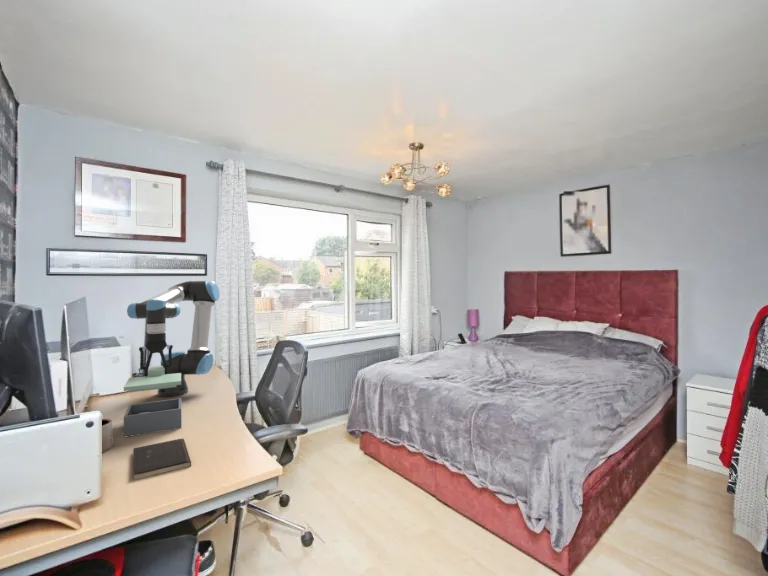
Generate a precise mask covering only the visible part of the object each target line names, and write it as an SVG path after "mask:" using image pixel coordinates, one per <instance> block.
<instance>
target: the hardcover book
mask: <svg viewBox="0 0 768 576" xmlns="http://www.w3.org/2000/svg"><path fill="white" fill-rule="evenodd" d="M132 450H133V451H132V476H133V479H134V480H138V479H142V478H147V477H149V476H154V475H159V474H163V473H167V472H171V471H175V470H176V471H177V470H179V469H184V468H188V467H192V461H191V458H190V454H189V451H188V448H187V445H186V441H185V439H184V438H177V439H173V440H166V441H164V442H163V441H162V442H157V443H153V444H148V445H143V446H138V447H134V448H133V449H132Z"/></svg>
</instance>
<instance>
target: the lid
mask: <svg viewBox="0 0 768 576" xmlns="http://www.w3.org/2000/svg"><path fill="white" fill-rule="evenodd" d="M149 367H150V368H149V369H150V370H149V376H145V375H144V376H136V377H129V378H128V379H127V381H126V382H125V384H124V386H123V392H126V391H129V393H134V392H135V393H136V392H145V391H154V390H158V389H164V388H172V387H176V385H181V373H175V374H165V375H163V366H161V365H157V366H155V365H154V366H149Z"/></svg>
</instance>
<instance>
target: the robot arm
mask: <svg viewBox="0 0 768 576" xmlns="http://www.w3.org/2000/svg"><path fill="white" fill-rule="evenodd" d="M219 288H220V287H219V286H218V284H217V282H215V281H213V280H195V281H194V280H193V281H192V280H188V281H183V282H181V283H178V284H175V285H173V286H170V287H169V288H168V289H167V291H166V290H165V291H164V292H162V293H160V294H157V295H155V296H153V297H150V298H148V299H146V300H144V301H142V302H135V303H130V304H128V306H127V308H126V314H127V316H128V317H129V318H130V319H137V320H140V319H141V320H142V319H143V320H144V319H145V320H146V333H147V334H146V343H145V345H144V346H139V348H138V351H139V354H140V355H139V357H140V360H139V361H140V362H139V366H140V367H139V369H140V370H144V377H145V376H149V370H150V368H149V367H150V364H151V361H152V357H153V354H160V366H163V375H165V374H175V373H181V385H176V387H172V388H164V389H157V396H158V397H160V396H161V398H169V397H168V396H171V397H176V395H178V396H181V395H180V394H182V395H185V394H187V393H188V392H189V386H188V384H187V381H186V377H185V376H186V375H187V376H188V375H189V376H190V375H197V376H200V375H206V374H208V373H209V372H210V371H211V370H212V368H213V364H214V354H213V353H211V350H210V349H209V335H210V327H211V315H212V313H211V312H212V307H213V306H215V302H216V301H218V300H219V299H220V294H221V293H220V289H219ZM185 301H186V302H189V301H191V302H192V304H193V305H194V314H193V315H194V316H193V323H192V333H191V343H190V347H189V348H188V349H187V352H185V351H184V350H178V351H172V350H173V347H174V345H173V344H168V343H167V340H166V339H167V338H166V337H167V336H166V329H167V326H166V323H167V322H166V319H173V318H176V317H178V316H179V315H180V314H181V307H180V305H179V304H178V303H180V302H185ZM165 348H167V349H166V350H168V352H167V353H164V350H165ZM146 350H148V351H149V354H148V357H147V360H146V364H145V351H146ZM184 393H185V394H184Z"/></svg>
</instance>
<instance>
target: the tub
mask: <svg viewBox="0 0 768 576" xmlns="http://www.w3.org/2000/svg"><path fill="white" fill-rule="evenodd" d="M175 428H177V429H181V428H182V398H181V397H180V398H173V399H164V400H157V401H150V402H140V403H133V404H128V407H127V409H126V410H125V413H124V415H123V437H124V438H126V437H125V436H128V437H132V436H131V435H134V436H139V435H138V434H140V435H145V434H144V433H146V434H151V433H157V432H164V430H165V431H169V430H170V429H171V430H176V429H175ZM171 430H170V431H171Z"/></svg>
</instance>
